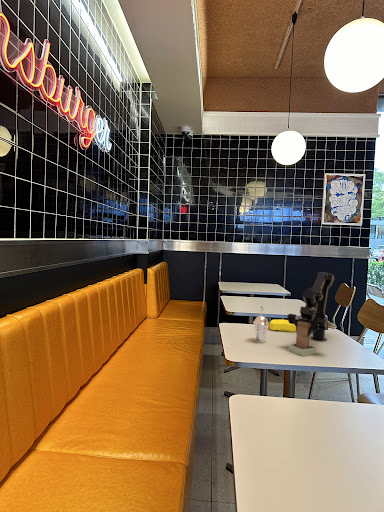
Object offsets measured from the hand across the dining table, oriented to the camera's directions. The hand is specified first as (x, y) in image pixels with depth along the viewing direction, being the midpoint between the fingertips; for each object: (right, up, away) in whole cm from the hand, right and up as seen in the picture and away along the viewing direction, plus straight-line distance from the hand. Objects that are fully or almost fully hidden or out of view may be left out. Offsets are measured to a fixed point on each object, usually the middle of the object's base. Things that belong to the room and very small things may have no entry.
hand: (302, 335), depth 170 cm
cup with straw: (-18, -7, +17) cm, 26 cm away
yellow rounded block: (+2, -7, +43) cm, 44 cm away
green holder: (0, -9, +1) cm, 9 cm away
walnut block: (0, -7, +1) cm, 7 cm away
